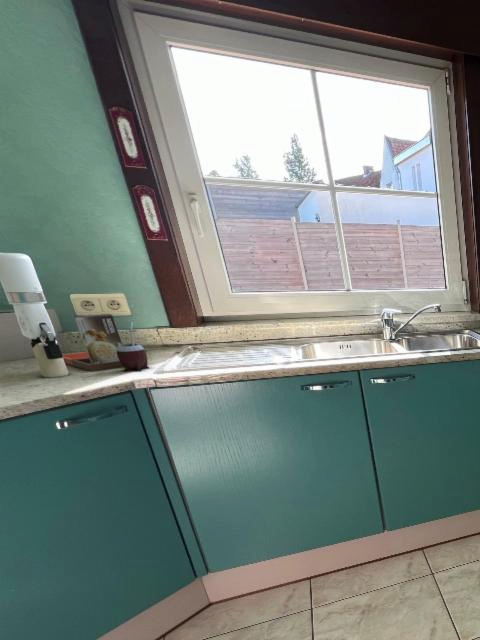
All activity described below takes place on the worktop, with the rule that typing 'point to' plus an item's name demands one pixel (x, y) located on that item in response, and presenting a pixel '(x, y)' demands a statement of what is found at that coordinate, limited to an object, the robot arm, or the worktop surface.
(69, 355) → the terracotta tray
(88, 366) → the walnut tray
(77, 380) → the worktop surface
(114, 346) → the coffee box
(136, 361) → the mate gourd
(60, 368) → the candle
